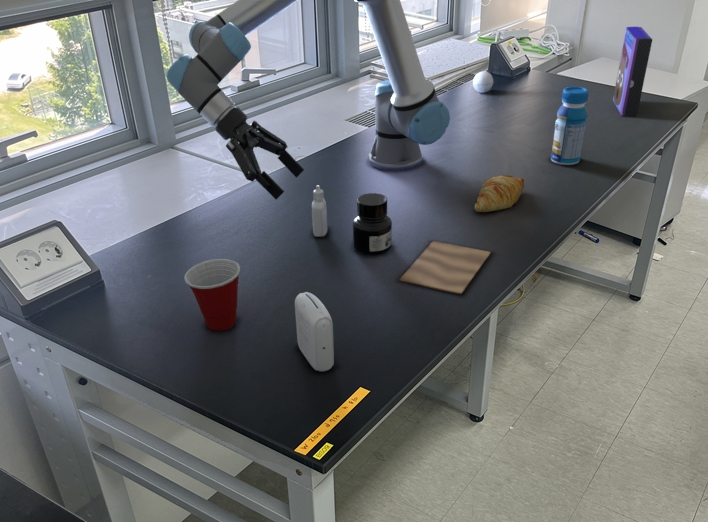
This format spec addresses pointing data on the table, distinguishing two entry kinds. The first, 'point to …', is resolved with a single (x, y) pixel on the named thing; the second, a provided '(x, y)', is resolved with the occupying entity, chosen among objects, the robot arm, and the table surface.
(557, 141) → the beverage bottle
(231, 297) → the plastic cup
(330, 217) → the table surface
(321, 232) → the eye dropper bottle
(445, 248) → the wooden board
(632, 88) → the cereal box
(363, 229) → the ink bottle
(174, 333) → the table surface
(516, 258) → the table surface
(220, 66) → the robot arm
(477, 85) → the white ovoid
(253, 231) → the table surface
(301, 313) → the photo printer
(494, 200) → the croissant
